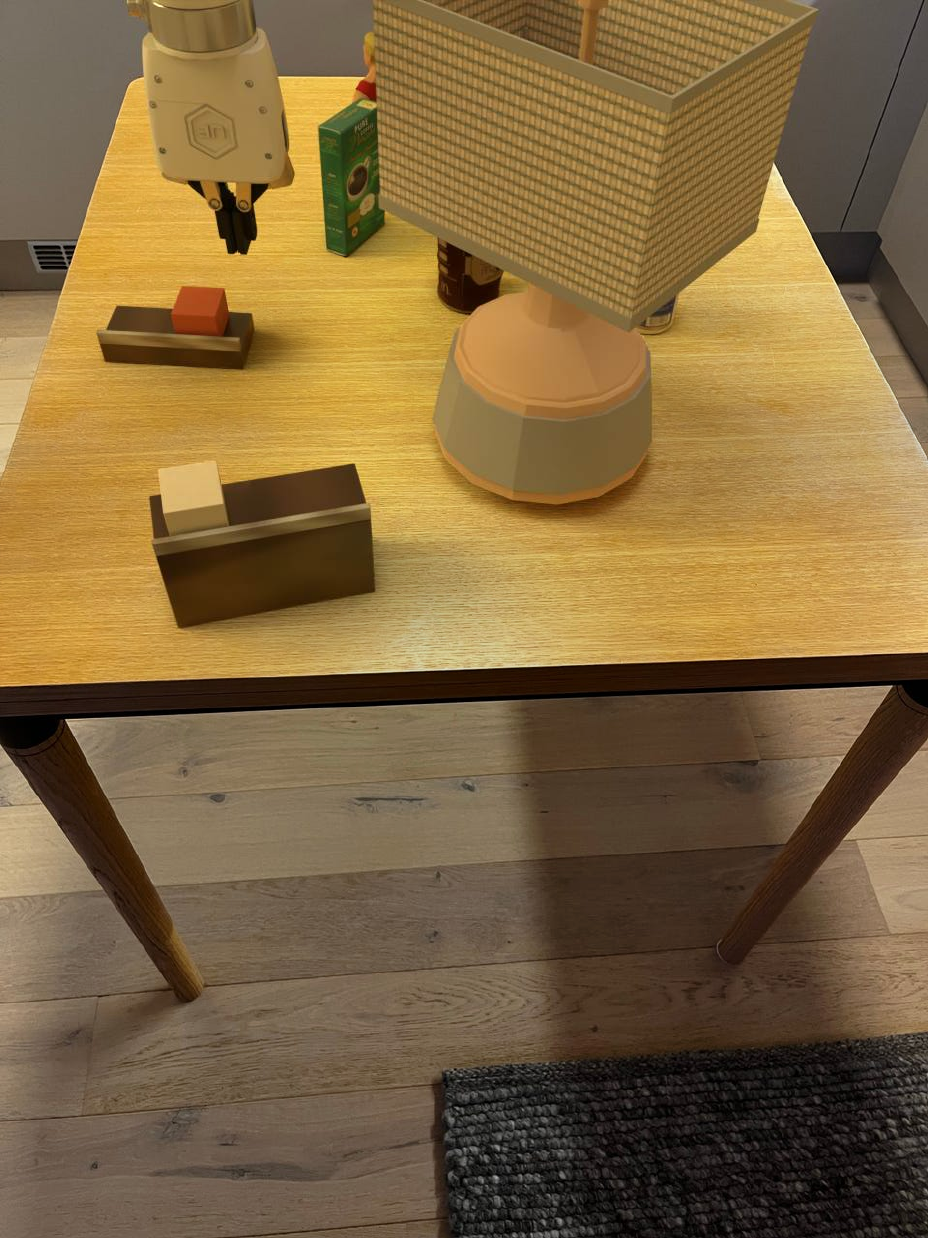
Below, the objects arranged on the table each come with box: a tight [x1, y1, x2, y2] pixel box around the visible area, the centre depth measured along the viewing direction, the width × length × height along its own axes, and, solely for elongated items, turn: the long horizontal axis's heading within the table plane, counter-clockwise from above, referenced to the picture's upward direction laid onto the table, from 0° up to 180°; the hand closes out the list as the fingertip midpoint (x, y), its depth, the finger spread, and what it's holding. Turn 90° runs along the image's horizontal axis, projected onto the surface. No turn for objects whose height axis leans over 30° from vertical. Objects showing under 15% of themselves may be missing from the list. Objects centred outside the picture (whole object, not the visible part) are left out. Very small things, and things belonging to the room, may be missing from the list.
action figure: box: [351, 31, 377, 104], centre depth 111 cm, size 10×4×15 cm, turn 140°
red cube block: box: [171, 285, 230, 337], centre depth 93 cm, size 4×4×3 cm
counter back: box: [95, 305, 256, 370], centre depth 94 cm, size 13×6×3 cm, turn 87°
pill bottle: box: [636, 293, 680, 335], centre depth 97 cm, size 5×5×9 cm
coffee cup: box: [436, 237, 505, 314], centre depth 97 cm, size 9×8×13 cm
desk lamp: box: [372, 0, 819, 505], centre depth 74 cm, size 22×19×37 cm
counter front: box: [148, 462, 376, 628], centre depth 74 cm, size 15×6×9 cm, turn 105°
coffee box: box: [317, 98, 386, 257], centre depth 103 cm, size 8×3×13 cm, turn 151°
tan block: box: [157, 459, 229, 536], centre depth 69 cm, size 4×4×3 cm
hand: (240, 245), depth 87 cm, fingers closed
